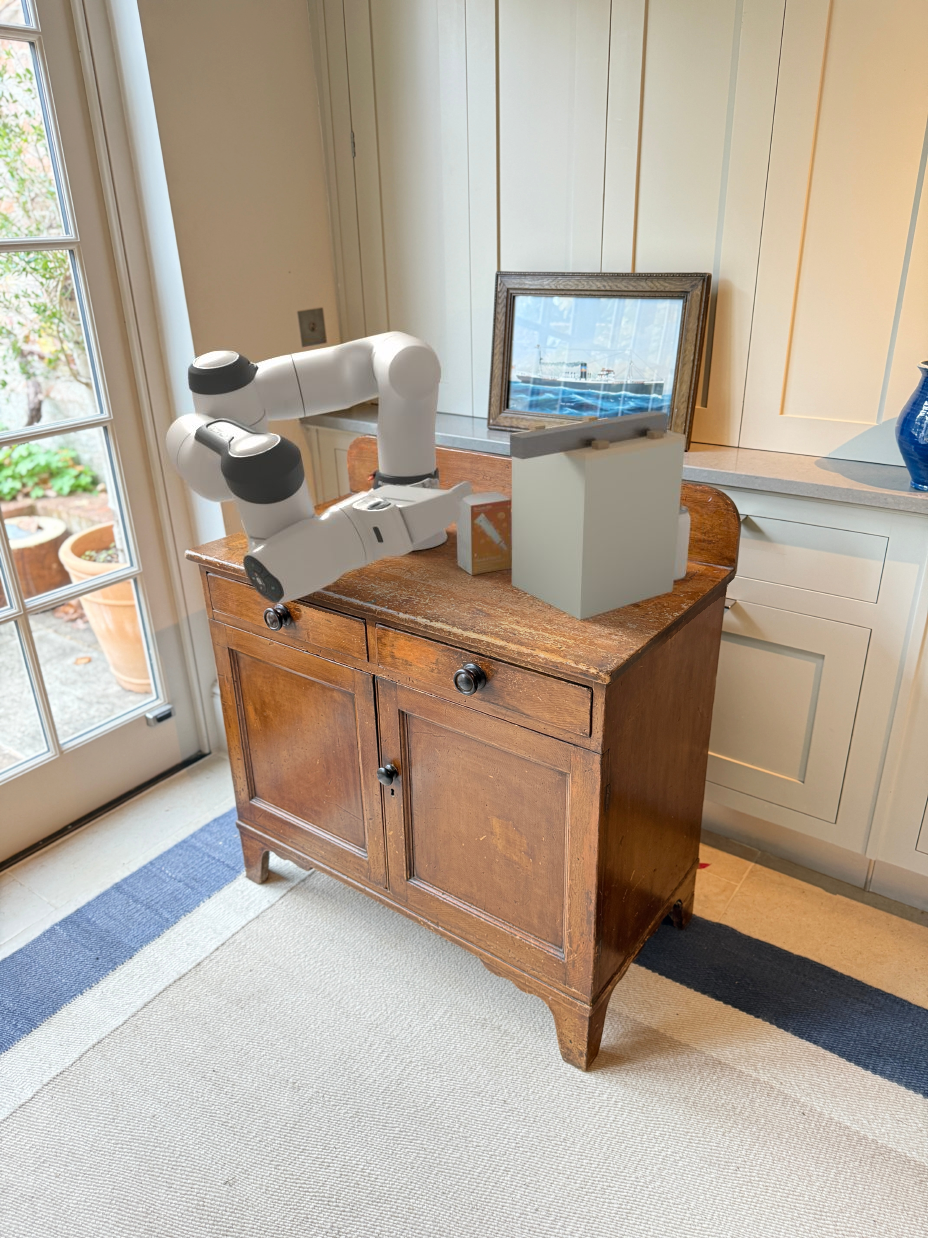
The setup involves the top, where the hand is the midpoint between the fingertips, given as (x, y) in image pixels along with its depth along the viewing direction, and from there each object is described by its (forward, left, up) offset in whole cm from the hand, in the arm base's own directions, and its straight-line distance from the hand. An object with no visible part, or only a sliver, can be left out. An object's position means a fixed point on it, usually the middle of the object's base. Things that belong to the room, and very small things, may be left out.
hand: (451, 484), depth 116 cm
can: (+21, +38, -24) cm, 50 cm away
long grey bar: (+13, +21, +2) cm, 25 cm away
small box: (-10, +29, -24) cm, 39 cm away
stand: (+11, +27, -24) cm, 38 cm away
